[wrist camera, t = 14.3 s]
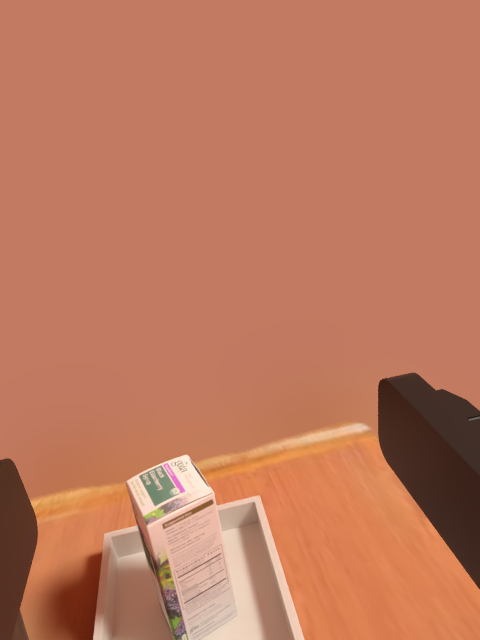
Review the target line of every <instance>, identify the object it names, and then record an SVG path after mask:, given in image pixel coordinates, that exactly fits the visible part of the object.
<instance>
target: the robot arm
mask: <svg viewBox="0 0 480 640" xmlns="http://www.w3.org/2000/svg"><path fill="white" fill-rule="evenodd" d="M378 436H379V443H380V447H381V450H382V453H383V455H384V457H385V459H386V461H387V463H388V464H389V466H390V467H391V468H392V470H393V471H394V472H395V474H396V475H397V477H398V478H399V479H400V481H401V482H402V483H403V485H404V486H405V488H406V489H407V490H408V492H409V493H410V494H411V496H412V497H413V499H414V500H415V501H416V503H417V504H418V505H419V507H420V508H421V510H422V511H423V512H424V514H425V515H426V516H427V518H428V519H429V521H430V522H431V523H432V525H433V526H434V527H435V529H436V530H437V531H438V533H439V534H440V536H441V537H442V538H443V540H444V541H445V542H446V544H447V545H448V547H449V548H450V549H451V551H452V552H453V553H454V555H455V556H456V558H457V559H458V560H459V562H460V563H461V564H462V566H463V567H464V569H465V570H466V571H467V573H468V574H469V575H470V577H471V578H472V580H473V581H474V582H475V584H476V585H477V586H478V588H479V589H480V411H479V410H478V409H477V408H475V407H474V406H473V405H472V404H471V403H469V402H468V401H467V400H465V399H463V398H461V397H459V396H457V395H454V394H452V393H450V392H448V391H446V390H443V389H441V390H437V391H436V390H435V389H434V388H432V387H431V386H430V385H429V384H428V383H427V382H426V381H425V380H424V379H422V378H421V377H420V376H419V375H418V374H416V373H409V374H404V375H400V376H395V377H390V378H385V379H382V380H381V381H380V382H379V386H378ZM37 537H38V529H37V520H36V516H35V513H34V510H33V507H32V505H31V503H30V500H29V498H28V495H27V493H26V490H25V488H24V485H23V483H22V480H21V479H20V476H19V473H18V470H17V468H16V466H15V464H14V463H13V461H12V460H11V459H3V460H0V640H12V636H13V632H14V628H15V624H16V621H17V617H18V613H19V609H20V606H21V602H22V598H23V594H24V590H25V587H26V583H27V579H28V575H29V572H30V568H31V564H32V560H33V556H34V553H35V549H36V545H37Z"/></svg>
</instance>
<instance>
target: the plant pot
mask: <svg viewBox="0 0 480 640" xmlns="http://www.w3.org/2000/svg"><path fill="white" fill-rule="evenodd" d="M12 640H29V638H28V635H27V632H26V629H25V626H24V622H23V619H22V615H21V612H20V609H19V613H18V617H17V621H16V624H15V628H14V632H13V636H12Z"/></svg>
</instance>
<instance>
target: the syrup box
mask: <svg viewBox="0 0 480 640" xmlns="http://www.w3.org/2000/svg"><path fill="white" fill-rule="evenodd" d="M126 486H127V489H128V493H129V496H130V499H131V503H132V507H133V511H134V515H135V518H136V522H137V526H138V530H139V534H140V538H141V541H142V545H143V549H144V552H145V556H146V560H147V563H148V567H149V570H150V574H151V577H152V581H153V584H154V587H155V590H156V594H157V597H158V600H159V603H160V606H161V609H162V612H163V614H164V617H165V620H166V622H167V624H168V627H169V629H170V632H171V634H172V636H173V639H174V640H201V639H202V638H204V637H205V636H207V635H208V634H210V633H211V632H213V631H214V630H216V629H217V628H219V627H220V626H222V625H223V624H225V623H226V622H228V621H229V620H231V619H232V618H234V617H235V616H237V610H236V605H235V600H234V594H233V589H232V583H231V578H230V573H229V568H228V563H227V558H226V553H225V547H224V542H223V536H222V531H221V526H220V521H219V516H218V510H217V505H216V501H215V495H214V492H213V490H212V489H211V488H210V486H209V485H208V483H207V482H206V480H205V478H204V477H203V475H202V474H201V472H200V470H199V469H198V468H197V467H196V465H195V464H194V463H193V461H192V460H191V459H190V457H189V456H188V455H184V456H181V457H178V458H175V459H172V460H169V461H167V462H164V463H161V464H159V465H157V466H155V467H152V468H150V469H148V470H146V471H144V472H142V473H140V474H138V475H136V476H134V477H132V478H131V479H129V480H127V481H126Z"/></svg>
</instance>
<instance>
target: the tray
mask: <svg viewBox="0 0 480 640" xmlns="http://www.w3.org/2000/svg"><path fill="white" fill-rule="evenodd" d="M217 510H218V516H219V521H220V526H221V531H222V536H223V542H224V547H225V553H226V558H227V563H228V568H229V573H230V578H231V583H232V589H233V594H234V600H235V605H236V610H237V616H235V617H234V618H232V619H231V620H229V621H228V622H226V623H225V624H223V625H222V626H220V627H219V628H217V629H216V630H214V631H213V632H211V633H210V634H208V635H207V636H205V637H204V638H202V639H201V640H304V637H303V633H302V630H301V627H300V624H299V621H298V617H297V614H296V611H295V608H294V604H293V601H292V598H291V595H290V592H289V588H288V585H287V582H286V579H285V576H284V572H283V569H282V566H281V563H280V559H279V556H278V553H277V550H276V547H275V543H274V540H273V537H272V534H271V530H270V527H269V524H268V521H267V518H266V514H265V511H264V508H263V505H262V502H261V498H260V495H258V496H254V497H250V498H246V499H242V500H238V501H234V502H230V503H226V504H222V505H218V506H217ZM93 640H174V639H173V636H172V634H171V632H170V629H169V627H168V624H167V622H166V620H165V617H164V614H163V612H162V609H161V606H160V603H159V600H158V597H157V594H156V590H155V587H154V584H153V581H152V577H151V574H150V570H149V567H148V563H147V560H146V556H145V552H144V549H143V545H142V541H141V538H140V534H139V530H138V526H133V527H129V528H125V529H121V530H117V531H113V532H108V533H105V534H104V543H103V552H102V561H101V571H100V580H99V589H98V598H97V607H96V617H95V626H94V635H93Z"/></svg>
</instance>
